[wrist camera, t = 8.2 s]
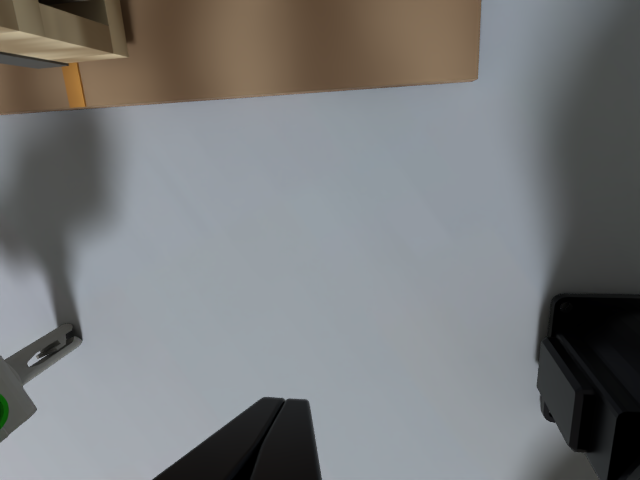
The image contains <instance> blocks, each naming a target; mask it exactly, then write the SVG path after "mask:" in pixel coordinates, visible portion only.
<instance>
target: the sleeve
mask: <svg viewBox="0 0 640 480" xmlns="http://www.w3.org/2000/svg"><path fill="white" fill-rule="evenodd" d="M0 51H1V52H6V53H12V54H18V55H23V56H29V57H35V58H40V59H46V60H52V61H57V62H63V63H74V62H85V61H95V60H106V59H116V58H127V57H129V55H128V49H127V43H126V37H125V30H124V24H123V18H122V12H121V6H120V0H86V1H78V2H70V3H62V4H54V5H44V4H40V3H39V2H38V0H0Z"/></svg>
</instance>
